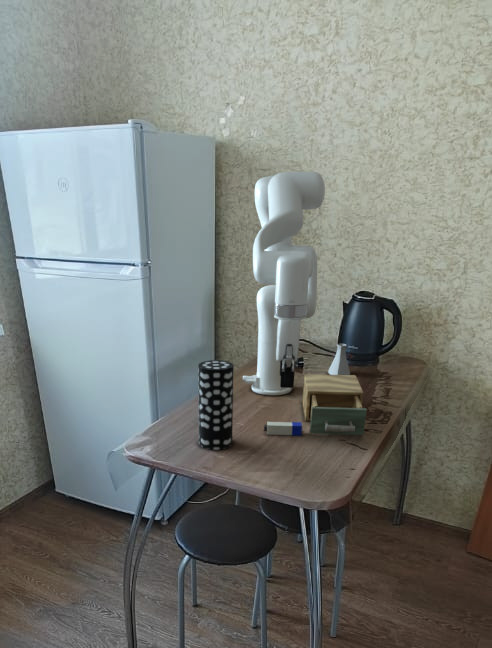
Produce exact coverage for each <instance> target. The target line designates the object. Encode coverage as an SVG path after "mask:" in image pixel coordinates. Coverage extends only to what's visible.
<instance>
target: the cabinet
mask: <svg viewBox="0 0 492 648" xmlns="http://www.w3.org/2000/svg"><path fill="white" fill-rule="evenodd" d="M303 377H304V380H303V391H302V409H303V415H304V421H305V422H311V417H310V403H311V394H336V395H357V396H358V398H359V400H360V403H361V405H362V406H363V398H364V390H363V388H362V387H361V384H360V381H359V379H358V377H357V375H355V374H350V375H330V374H319V373H318V374H317V373H316V374H314V373H305V374H304V376H303Z"/></svg>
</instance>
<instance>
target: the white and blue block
mask: <svg viewBox="0 0 492 648" xmlns="http://www.w3.org/2000/svg"><path fill="white" fill-rule="evenodd" d="M266 423H267V424H264V426H263V431H264V432H266V435H268V436H269V435H272V436H273V435H274V436H296V437H297V436H300V437H301V436H302V431H303V423H302V421H288V422H287V421H267V422H266Z"/></svg>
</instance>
